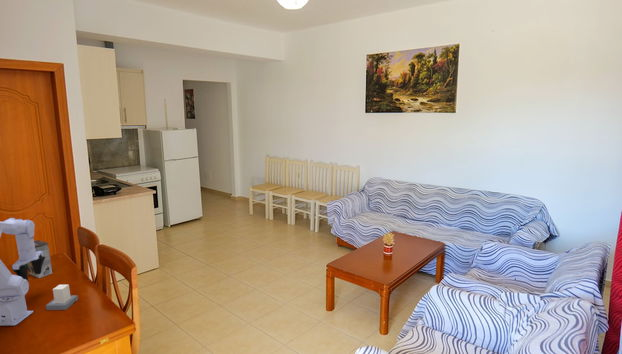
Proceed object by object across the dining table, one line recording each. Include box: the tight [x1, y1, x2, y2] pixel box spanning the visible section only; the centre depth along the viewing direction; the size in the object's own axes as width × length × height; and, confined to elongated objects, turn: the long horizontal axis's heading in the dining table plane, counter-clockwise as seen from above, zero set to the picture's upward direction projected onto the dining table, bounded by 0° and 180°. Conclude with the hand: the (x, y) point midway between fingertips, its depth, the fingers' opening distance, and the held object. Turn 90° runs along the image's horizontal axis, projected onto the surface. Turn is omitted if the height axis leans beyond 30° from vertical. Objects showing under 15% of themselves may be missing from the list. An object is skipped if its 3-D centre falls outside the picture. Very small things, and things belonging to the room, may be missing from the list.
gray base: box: [45, 294, 79, 311], centre depth 155 cm, size 8×8×2 cm
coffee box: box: [28, 239, 53, 279], centre depth 181 cm, size 9×6×16 cm
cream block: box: [52, 284, 71, 303], centre depth 154 cm, size 4×4×6 cm
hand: (31, 277), depth 157 cm, fingers open, 7 cm apart
